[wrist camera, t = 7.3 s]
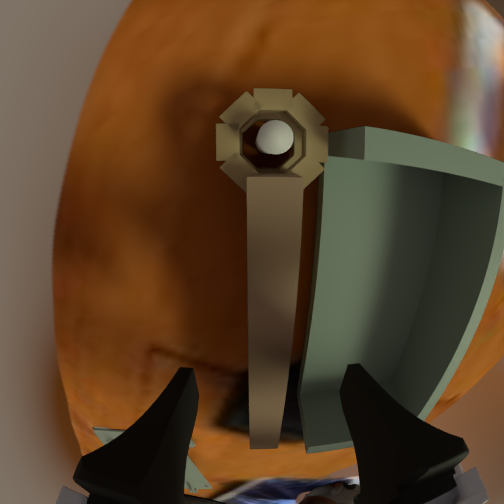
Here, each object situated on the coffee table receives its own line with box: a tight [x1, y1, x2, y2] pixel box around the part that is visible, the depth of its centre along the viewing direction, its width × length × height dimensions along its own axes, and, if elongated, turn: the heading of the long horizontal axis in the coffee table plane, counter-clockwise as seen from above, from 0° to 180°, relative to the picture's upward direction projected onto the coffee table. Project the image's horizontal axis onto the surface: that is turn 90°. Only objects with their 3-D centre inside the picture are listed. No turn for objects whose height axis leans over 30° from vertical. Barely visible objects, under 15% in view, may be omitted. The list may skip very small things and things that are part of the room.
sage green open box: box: [255, 120, 504, 454], centre depth 14 cm, size 20×13×6 cm, turn 0°
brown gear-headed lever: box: [216, 88, 328, 449], centre depth 15 cm, size 22×4×6 cm, turn 0°
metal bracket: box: [93, 427, 212, 493], centre depth 26 cm, size 14×6×15 cm
